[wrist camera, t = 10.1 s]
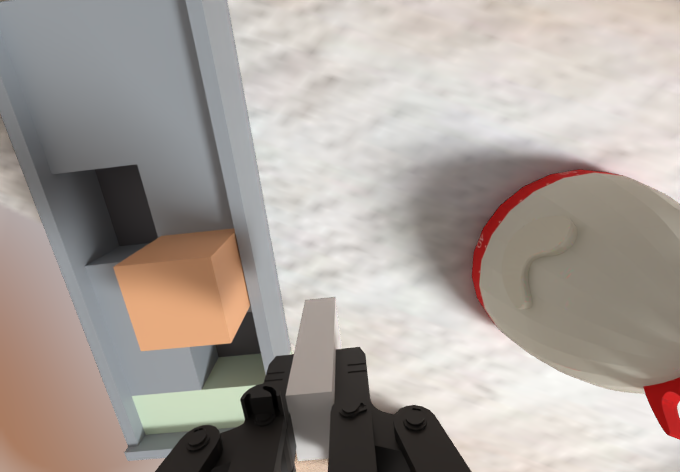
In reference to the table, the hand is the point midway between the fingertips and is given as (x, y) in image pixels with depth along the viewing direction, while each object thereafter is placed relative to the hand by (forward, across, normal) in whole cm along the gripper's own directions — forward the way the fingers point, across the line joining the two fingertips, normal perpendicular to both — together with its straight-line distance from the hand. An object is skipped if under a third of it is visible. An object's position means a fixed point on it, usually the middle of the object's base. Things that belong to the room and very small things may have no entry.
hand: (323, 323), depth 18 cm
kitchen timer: (+10, +18, -2) cm, 20 cm away
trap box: (+10, -10, +2) cm, 15 cm away
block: (+6, -8, +1) cm, 10 cm away
